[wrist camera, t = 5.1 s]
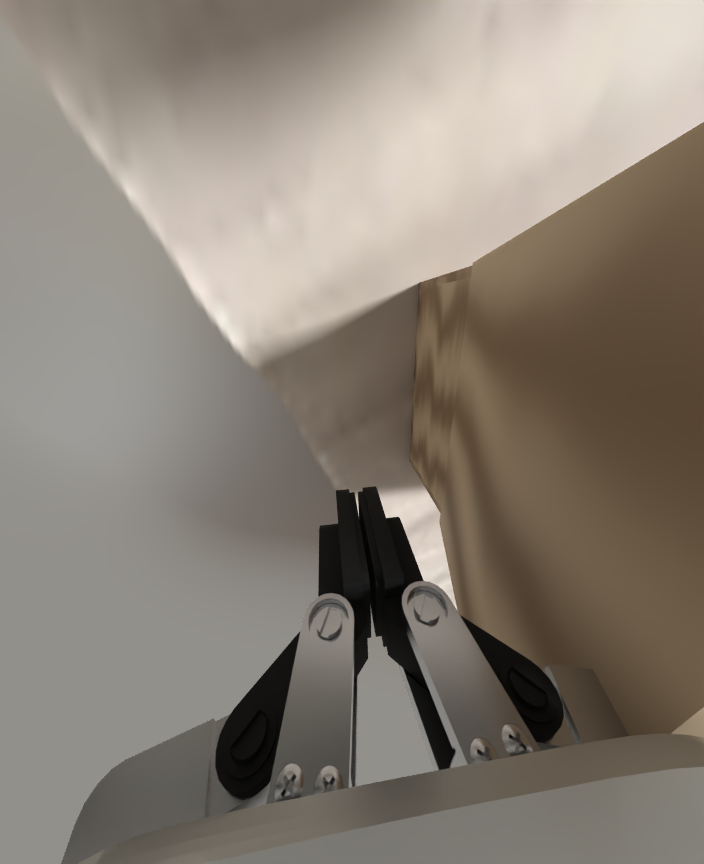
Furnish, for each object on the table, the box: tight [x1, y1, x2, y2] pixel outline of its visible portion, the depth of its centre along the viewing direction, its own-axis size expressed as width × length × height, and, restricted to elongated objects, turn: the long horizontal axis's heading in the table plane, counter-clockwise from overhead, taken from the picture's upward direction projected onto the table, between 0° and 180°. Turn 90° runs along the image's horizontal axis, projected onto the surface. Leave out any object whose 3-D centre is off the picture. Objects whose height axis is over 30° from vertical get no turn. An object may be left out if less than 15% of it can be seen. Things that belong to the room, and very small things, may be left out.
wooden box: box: [410, 266, 472, 513], centre depth 24 cm, size 20×16×11 cm
